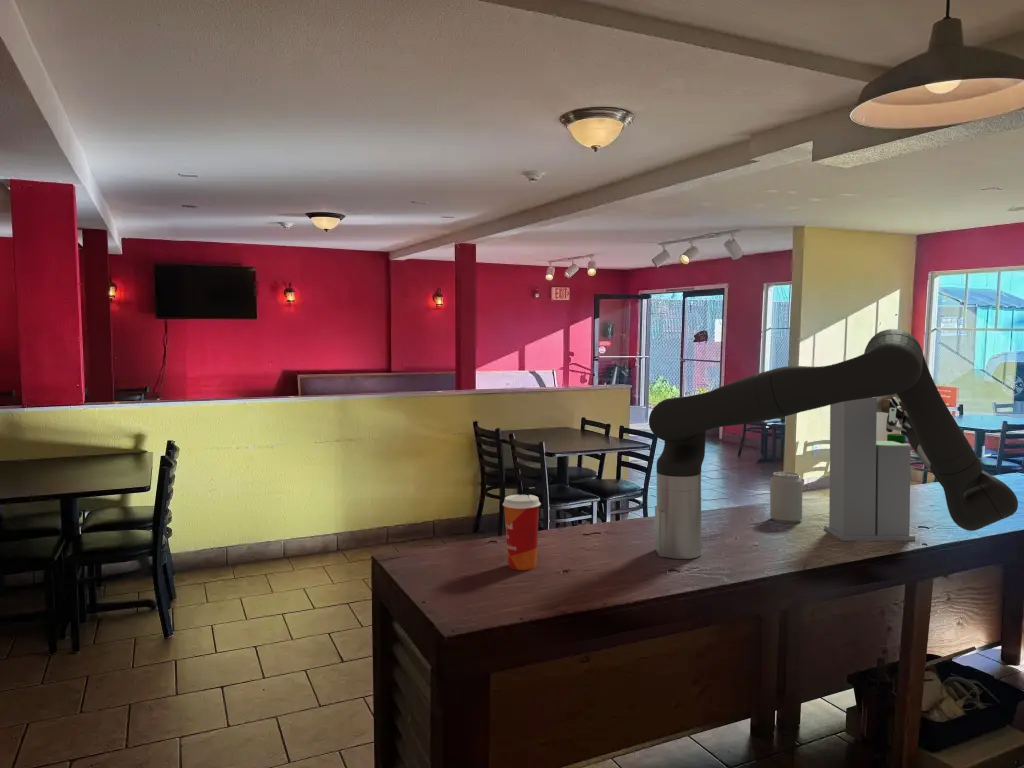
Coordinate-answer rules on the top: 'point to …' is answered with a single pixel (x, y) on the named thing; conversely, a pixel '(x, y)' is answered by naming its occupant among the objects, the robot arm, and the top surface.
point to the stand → (866, 477)
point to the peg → (885, 403)
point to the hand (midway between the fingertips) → (900, 400)
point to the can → (786, 497)
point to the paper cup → (522, 530)
